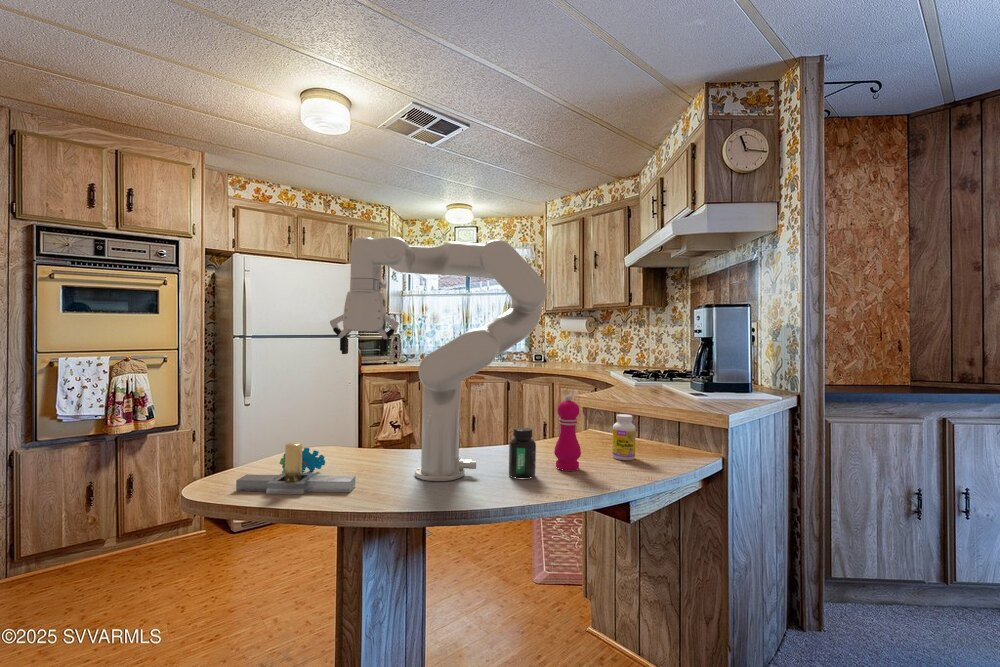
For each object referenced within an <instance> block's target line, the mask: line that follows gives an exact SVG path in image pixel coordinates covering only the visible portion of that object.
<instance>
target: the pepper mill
mask: <svg viewBox="0 0 1000 667" xmlns="http://www.w3.org/2000/svg"><path fill="white" fill-rule="evenodd" d="M572 399H573V397H572V396H571V394H567V395H566V396H565V400H563V401H561V402H560V403H559V404H558V406H557V414H558V416H559V418H558V424H559V425H560V426H559V427H560V430H559V431H560V433H559V436H558V439H557V441H556V443H555V446H554V452H553V453H554V456H555V457H556V458H557V460H555V468H556V467H557V468H559V469H563V470H576V471H578V470H579V468H580V462H579V460H578V459H580V457H581V456H582V450H581V446H580V444H579V441H578V439H577V438H578V437H577V434H576V426H577V425H578V418H577V417H578V416H579V414H580V406H579V404H577V402H575V401H573V400H572ZM557 468H556V469H557ZM559 469H558V470H559ZM577 469H578V470H577ZM563 470H562V471H563Z"/></svg>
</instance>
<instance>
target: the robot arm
mask: <svg viewBox="0 0 1000 667" xmlns="http://www.w3.org/2000/svg"><path fill="white" fill-rule="evenodd" d="M382 266H386V267H389V268H391V269H392V270H393V271H396V272H397V273H405V274H406V273H407V274H418V275H438V276H439V275H441V276H460V277H471V278H472V277H473V278H482V279H483V278H485V279H495V282H497V283H498V284H499V285H500V287H502V289H503V290H504V291H505V292H506V293H507V294H508V295H509V296H510V298H511V299H510V300H511V305H510V306H509V308H508V309H507V310H506V311H505V312H504V313H501V314H500V315H499V316H496V317H495V318H494V319H492V320H490V321H488V322H487V323H486V324H484V325H482V326H480V327H477V328H472V329H469V330H467V331H465V332H464V333H462V334H460V335H459V336H457V337H455V338H454V339H452V340H450V341H449V342H447V343H445V344H443V345H442V346H440V347H438V348H437V349H435V350H433V351H432V352H429V353H428V354H427V355H426V356H424V357H423V359H422V360H421V361H420V363H419V366H418V377H419V381H420V382H421V384H422V385H423V394H422V413H421V414H422V418H421V421H422V422H421V457H420V462H421V463H420V466H419V467H416V469H414V476H415V477H416V478H418V479H419V480H423V481H428V482H448V481H453V480H459V479H461V478H463V477H464V476H465V472H466V469H468V470H476V469H477V461H476V460H473V459H464V458H462V457H461V456H462V455H461V454H460V425H461V422H460V420H461V416H460V414H461V394H462V392H461V391H462V390H461V389H462V382H463V381H464V380H466V379H469V377H471V376H473V375H475V374H476V373H479V372H481V371H482V370H483V369H484V368H486V367H488V366H489V365H490V364H492V363H493V362H494V360H495V359H496V358H497V357H498V356H499V355H501V354H503V353H505V352H506V351H507V350H509V349H511V348H512V347H513V346H515V345H517V344H519V343H520V342H522V341H523V340H525V339H526V338H527V337H528V336H529V335H531V334H532V332H533V331H534V330H535V329H536V327H537V325H538V323H539V322H540V319H541V317H542V313H543V312H542V310H543V303H544V302H545V300H546V299H547V297H548V296H547V294H548V289H547V288H548V287H547V285H546V282H545V281H544V279H543V278H542V277H541V276H540V275H539V273H537V272H536V270H534V268H533V267H532V266H531V265H530V264H529V263H528V262H527V261H526V260H525V259H524V258H523V257H522V255H521V254H520V253H519V252H518V251H517V250H516V249H515V248H514V247H513V246H512V245H511V244H510V243H508V242H507V241H505V240H503V239H493V240H490V241H488V242H487V243H473V242H461V241H450V242H446V243H444V244H441V245H438V246H418V245H409V244H408V243H407V242H406V241H405V240H404V239H403V238H401V237H397V236H387V237H379V238H372V237H357V238H356V237H355V238H354V239H353V240H352V241H351V244H350V276H349V277H350V280H349V281H350V283H349V291H347V293H346V297H345V300H344V301H345V302H344V306H343V307H344V308H343V314H341V315H339V316H337V317H335V318H333V319H331V320H330V321H329V324H330V326H331V328H332V330H333V332H334V333H335V334H336V335H337V337H338V338H339V350H340V351H341V355H347V354H349V338H348V336H349V335H350V334H351V332H372V333H373V332H376V333H377V332H378V334H379V335H380V337H381V339H379V340H380V343H379V344H380V345H379V347H380V348H379V354H380V356H385V355H386V353H387V352H389V351H388V349H389V348H388V346H389V339H390V338H391V337H392V336H393V335H394V334H395V333H396V330H397V329H398V327H399V325H400V322H399V321H398V320H395V319H393V318H392V317H389V316H387V309H386V308H387V307H386V299H385V293H384V292H382V290H384V289H387V283H386V282H385V283H384V282H383V281H382ZM341 322H342V326H343V329H340V327H339V325H338V324H339V323H341ZM387 323H389V324H390V325H391V327H390V328H389V330H387V331H386V329H387ZM472 460H473V461H472Z"/></svg>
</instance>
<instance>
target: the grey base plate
mask: <svg viewBox="0 0 1000 667" xmlns="http://www.w3.org/2000/svg"><path fill="white" fill-rule="evenodd" d="M356 478H357V477H356V475H320V474H319V475H318V472H317V473H316V472H303V473H302V480H301V481H285V473H282V472H281V473H280V474H245V475H243V476H242V477H238V478H237V479H236V482H235V483H236V484H235V486H236V487H235V491H236V490H237V491H236V492H242V491H241V490H245V491H244V492H266V493H265V494H266V495H293V494H304V493H305V494H306V493H347V492H350V491H351V490H352V491H353V489H354V488H355V487H356ZM307 491H308V492H307ZM311 491H312V492H311ZM352 491H351V492H352ZM351 492H350V493H351ZM305 494H304V495H305Z"/></svg>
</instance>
